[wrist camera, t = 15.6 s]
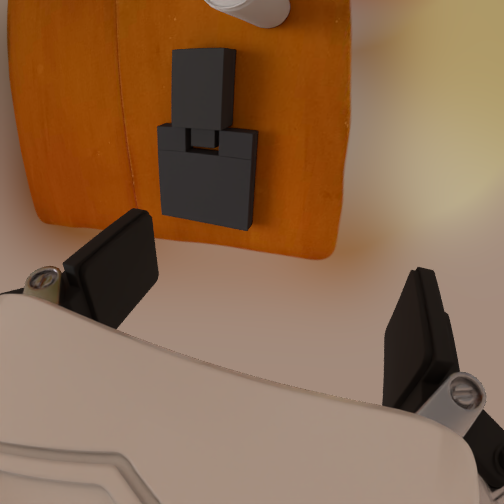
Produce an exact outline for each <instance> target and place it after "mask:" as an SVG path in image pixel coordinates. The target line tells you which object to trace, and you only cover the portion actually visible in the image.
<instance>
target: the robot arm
mask: <svg viewBox="0 0 504 504" xmlns="http://www.w3.org/2000/svg"><path fill="white" fill-rule="evenodd" d="M154 241H155V240H154V231H153V222H152V217H151V216H150V215H149V213H148V212H147V211H146V210H141V209H135V208H133V209H131V210H130V211H128V212H127V213H126V214H124V215H123V216H122V217H120V218H119V219H118V220H116V221H115V222H114V223H112V224H111V225H110V226H108V227H107V228H106V229H104V230H103V231H102V232H101V233H99V234H98V235H97V236H96V237H94V238H93V239H92V240H90V241H89V242H88V243H87V244H85V245H84V246H83V247H82V248H80V249H79V250H78V251H77V252H75V254H73V255H72V256H71V257H69V258H68V259H67V260H66V261H65V262H63V266H64V270H65V271H64V272H63V273H61V271H60V270H59V268H56V267H53V266H47V267H43V268H40V269H38V270H36V271H34V272H33V273H31V274H30V276H29V277H28V278H27V280H26V283H25V286H24V288H21V289H17V290H13V291H9V292H5V293H1V294H0V504H504V430H503V429H502V428H501V427H500V426H499V425H498V424H497V423H496V422H495V421H494V420H493V419H492V418H491V417H490V416H489V415H488V414H487V413H486V412H485V411H484V410H483V408H484V406H485V403H486V392H485V389H484V387H483V385H482V383H481V382H480V381H479V380H478V379H477V378H476V377H474V376H473V375H471V374H469V373H466V372H460V370H459V364H458V358H457V352H456V348H455V342H454V337H453V333H452V328H451V324H450V319H449V316H448V314H447V313H446V312H444V308H443V304H442V300H441V295H440V291H439V288H438V284H437V280H436V276H435V273H434V271H433V270H430V269H425V268H421V267H417V269H416V270H415V271H414V270H411V272H410V274H409V276H408V278H407V281H406V283H405V286H404V288H403V291H402V293H401V296H400V299H399V301H398V303H397V305H396V308H395V310H394V312H393V315H392V317H391V319H390V321H389V324H388V326H387V328H386V331H385V337H384V384H383V402H382V406H381V405H377V404H372V403H366V402H361V401H356V400H351V399H346V398H342V397H337V396H333V395H328V394H324V393H319V392H314V391H310V390H306V389H302V388H297V387H293V386H289V385H285V384H281V383H277V382H273V381H270V380H266V379H262V378H258V377H255V376H252V375H248V374H244V373H241V372H238V371H234V370H231V369H227V368H224V367H221V366H218V365H214V364H211V363H208V362H205V361H202V360H199V359H196V358H193V357H189V356H187V355H183V354H181V353H177V352H175V351H172V350H169V349H166V348H163V347H161V346H158V345H155V344H152V343H150V342H147V341H144V340H142V339H139V338H136V337H134V336H131V335H129V334H126V333H124V332H121V331H119V330H116V329H117V328H118V327H119V325H120V324H121V323H122V322H123V321H124V319H125V318H126V317H127V316H128V315H129V313H130V312H131V311H132V310H133V309H134V307H135V306H136V305H137V304H138V303H139V302H140V300H141V299H142V298H143V297H144V296H145V294H146V293H147V292H148V291H149V290H150V289H151V287H152V286H153V285H154V284H155V283H156V281H157V279H158V275H159V272H158V265H157V257H156V249H155V242H154Z"/></svg>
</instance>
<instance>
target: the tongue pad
mask: <svg viewBox="0 0 504 504" xmlns="http://www.w3.org/2000/svg"><path fill="white" fill-rule="evenodd" d="M235 59H236V50H235V49H228V48H197V49H177V50H172V127H180V128H191V146H198V147H207V148H216V147H217V146H219V131H221V130H223V129H225V128H227V127H229V126H231V125H232V120H233V98H234V78H235Z"/></svg>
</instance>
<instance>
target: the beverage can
mask: <svg viewBox="0 0 504 504" xmlns="http://www.w3.org/2000/svg"><path fill="white" fill-rule="evenodd" d="M205 1H206V2H207V3H208V4H209V5H210V6H211V7H213V8H215V9H217V10H219V11H221V12H224V13H226V14H229V15H232V16H234V17H237V18H239V19H242V20H244V21H247V22H249V23H251V24H254V25H256V26H258V27H262V28H272V27H275V26H278V25H280V24H281V23H282V22H283V21H284V20H285V19H286V18H287V16H288V14H289V11H290V3H289V0H205Z"/></svg>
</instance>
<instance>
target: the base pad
mask: <svg viewBox="0 0 504 504" xmlns="http://www.w3.org/2000/svg"><path fill="white" fill-rule="evenodd" d="M157 134H158V160H159V179H160V194H161V208H162V215H168V216H173V217H178V218H183V219H189V220H194V221H199V222H204V223H209V224H214V225H219V226H224V227H229V228H234V229H239V230H244V231H248V229H249V228H250V226H251V225H252V216H253V201H254V186H255V170H256V155H257V140H258V131H256V130H247V129H238V128H228V127H227V128H225V129H223V130H221V131H219V151H215V150H206V149H196V148H193V146H191V128H180V127H172V124H171V123H165V124H162V125H160V126H157Z"/></svg>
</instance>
